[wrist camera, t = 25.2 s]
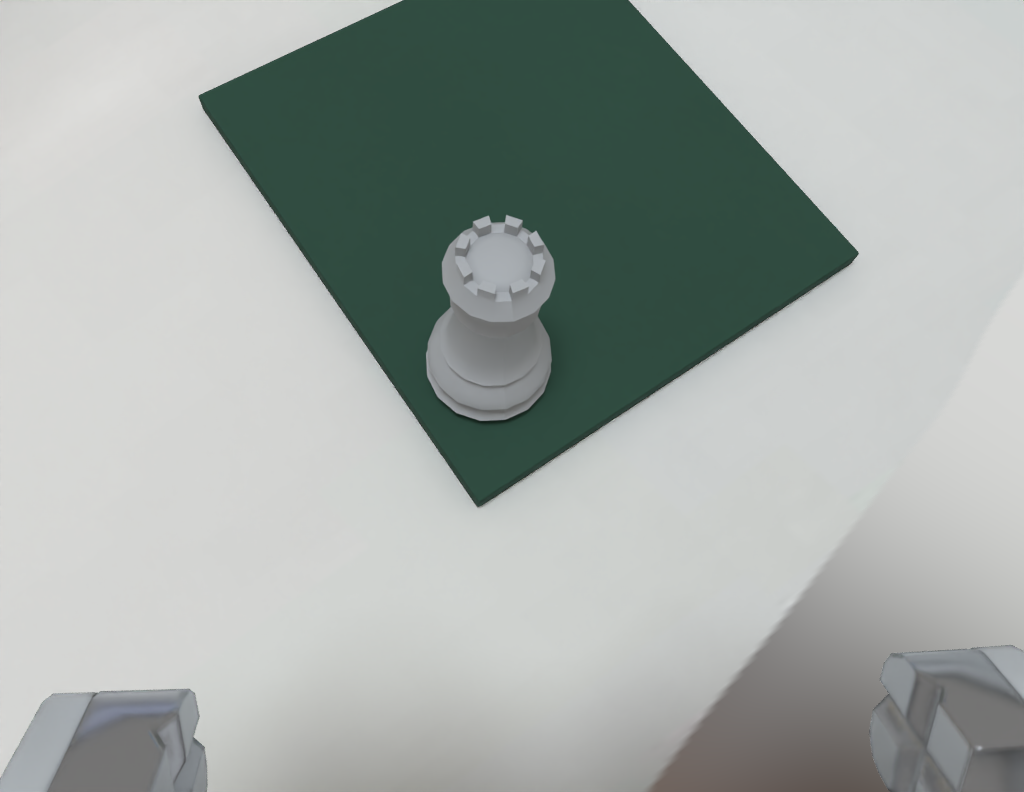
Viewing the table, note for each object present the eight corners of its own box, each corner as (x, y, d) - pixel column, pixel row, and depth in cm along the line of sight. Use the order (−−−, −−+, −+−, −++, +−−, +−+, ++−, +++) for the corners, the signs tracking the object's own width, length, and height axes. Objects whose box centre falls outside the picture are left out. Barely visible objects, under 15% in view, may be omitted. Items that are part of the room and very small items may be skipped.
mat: (851, 263, 36) (860, 253, 35) (478, 508, 31) (478, 502, 30) (559, -60, 41) (561, -75, 40) (202, 108, 36) (197, 95, 36)
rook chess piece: (564, 410, 32) (601, 307, 24) (442, 439, 31) (441, 342, 24) (530, 300, 33) (555, 172, 26) (412, 326, 33) (402, 201, 25)
